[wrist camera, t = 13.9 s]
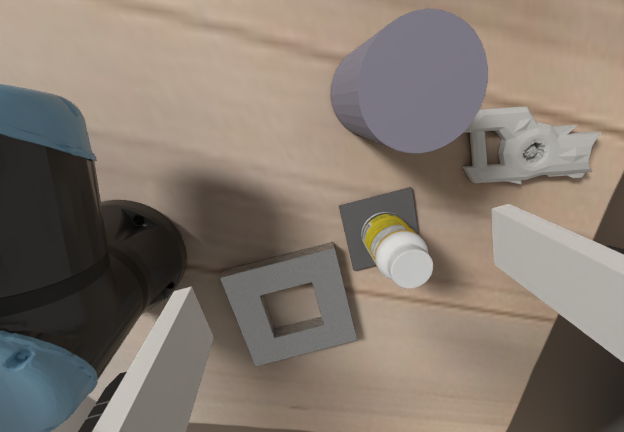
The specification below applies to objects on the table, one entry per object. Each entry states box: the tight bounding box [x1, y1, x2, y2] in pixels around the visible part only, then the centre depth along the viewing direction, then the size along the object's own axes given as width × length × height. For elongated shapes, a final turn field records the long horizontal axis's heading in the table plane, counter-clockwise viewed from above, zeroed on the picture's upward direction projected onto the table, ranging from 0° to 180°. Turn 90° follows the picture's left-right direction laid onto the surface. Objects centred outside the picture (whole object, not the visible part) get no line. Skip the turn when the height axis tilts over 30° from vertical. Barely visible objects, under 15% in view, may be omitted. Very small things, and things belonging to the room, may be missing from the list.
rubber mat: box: [339, 187, 418, 271], centre depth 44 cm, size 10×10×1 cm
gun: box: [462, 107, 602, 185], centre depth 41 cm, size 18×3×10 cm
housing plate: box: [220, 242, 357, 367], centre depth 47 cm, size 16×16×2 cm
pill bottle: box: [361, 212, 433, 288], centre depth 39 cm, size 6×6×11 cm
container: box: [331, 9, 488, 153], centre depth 32 cm, size 10×10×15 cm
